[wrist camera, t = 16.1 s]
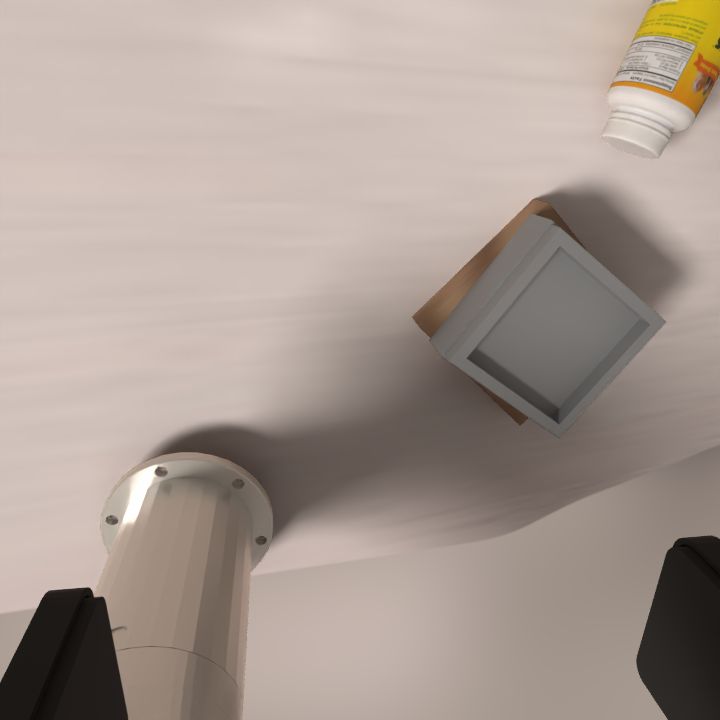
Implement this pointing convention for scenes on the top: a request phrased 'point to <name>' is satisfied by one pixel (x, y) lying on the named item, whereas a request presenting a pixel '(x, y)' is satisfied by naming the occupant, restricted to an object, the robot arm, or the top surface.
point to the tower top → (546, 326)
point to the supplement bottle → (664, 76)
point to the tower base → (463, 281)
